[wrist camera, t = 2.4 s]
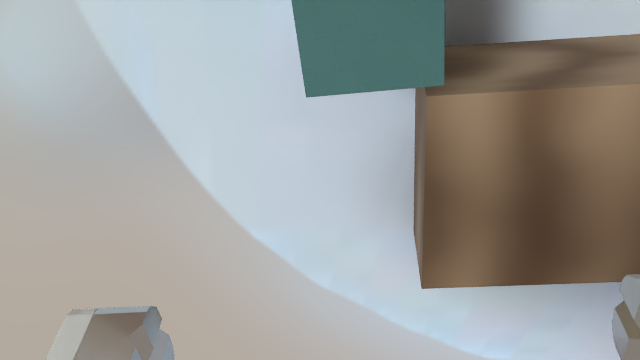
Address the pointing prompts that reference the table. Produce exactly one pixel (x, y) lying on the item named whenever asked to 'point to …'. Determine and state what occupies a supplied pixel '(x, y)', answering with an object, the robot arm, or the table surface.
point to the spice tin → (369, 44)
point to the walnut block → (530, 164)
